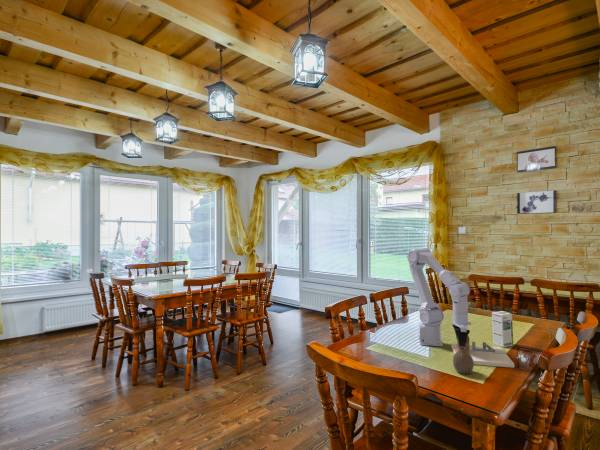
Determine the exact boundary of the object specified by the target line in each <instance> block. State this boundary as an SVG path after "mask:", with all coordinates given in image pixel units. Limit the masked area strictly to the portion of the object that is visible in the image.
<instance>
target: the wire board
mask: <svg viewBox="0 0 600 450" xmlns="http://www.w3.org/2000/svg"><path fill="white" fill-rule="evenodd" d="M450 345H451V346H450V347H451V350H452V352H453V354H454V355H455V353H456V352H457V351H458V350H459V348H458V345H457V343H454V344H453V343H451V344H450ZM475 347H476V348H479V349H483V345H475ZM491 347H492V348H493V349H494V350H495V352H483V351H473V350H472V344H470V350H467V351H468V353H469V354H470V355H471V357H472V359H473V362H474V365H476V366H489V367H500V368H501V367H504V368H511V369H512V368H515V362H513V360H512V359H511V358H510V357H509V355H508V354H507V353H506V351H505V350H504V349H503V347H501V346H491ZM486 349H488V348H487V347H486ZM454 355H453V356H454Z"/></svg>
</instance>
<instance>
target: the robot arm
mask: <svg viewBox="0 0 600 450" xmlns="http://www.w3.org/2000/svg"><path fill="white" fill-rule="evenodd" d="M406 258H407V261H408V265H409V270H410V274H411V276H412V280H413V283H414V285H415V289H416V292H417V295H418V297H419V300H420V304H421V305H420V307H419V308H418V312H419V319H420V322H421V323H418V332H419V333H418V334H419V335H418V340H419V344H420V345H419V346H431V347H443V346H444V345H443V342H442V340H441V337H442V335H441V333H442V332H441V324H442V321H443V320H444V317H445V314H444V313H443V311H442V309H441V308H440V306H439V304H438V303H437V302H435V301H434V299H433V296H432V293H431V291H430V287H429V285H428V282H427V279H426V275H425V273H424V270H423V269H424V267H425V266H426V265H427V266H429V268H431V269H432V270H433V272H435V273H436V274H437V275H439V276H438V279H439V280H440V281H441V283H443V284H444V285H445V286H446V288H447V289H448V292H449V295H450V296H451V300H452V327H453V330H454V333H455V336H456V337H455V338H456V339H457V337H458V342H459V345H460V346H465V345H466V340H467V336H469V334H470V329H467V327H468V326H471V325H472V322H471V321H469V316H468V315H469V310H468V306H469V305H468V296H469V295H470V294H471V288H470V286H469V285H468V283H466V281H465V282H464V281H461V280H460V279H459V278H457V276H456V275H455V274H454V272H453V271H452V270H448V269H445V268H444V267H443V265H442V264H441V263H440V262H439V261H438V260H437V259H436V257H434V253H433V252H432V251H431V250H430V249H429V248H428V247H427V248H426V247H424V248H415V249H414V248H411V249H409V251H408V253H407V256H406Z"/></svg>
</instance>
